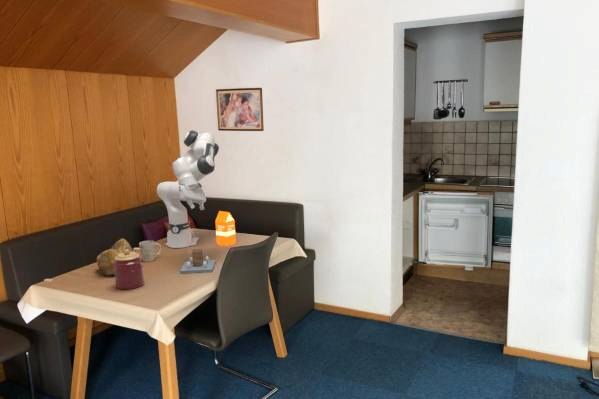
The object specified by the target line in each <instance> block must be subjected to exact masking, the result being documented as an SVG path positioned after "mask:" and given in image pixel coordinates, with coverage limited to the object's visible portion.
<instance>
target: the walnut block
mask: <svg viewBox="0 0 599 399" xmlns="http://www.w3.org/2000/svg"><path fill="white" fill-rule="evenodd" d="M203 255H204V254H203V249H202V248H197V249H196V248H194V249H192V250H191V257H192V259H193V267H198V266H202V265H203V260H204V258H203Z"/></svg>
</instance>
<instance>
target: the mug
mask: <svg viewBox="0 0 599 399" xmlns="http://www.w3.org/2000/svg"><path fill="white" fill-rule="evenodd" d="M138 246H139V250H140V254H141V259H142V262H152V261H154V260H155V256H158V255H159V254H161V252H162V245H161V244H160V243H158V242H155V240H143V241H140V242H139V243H138ZM157 246H158V249H159V250H158V252H157V253H155V250H156V249H155V247H157Z"/></svg>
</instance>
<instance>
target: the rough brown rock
mask: <svg viewBox="0 0 599 399" xmlns="http://www.w3.org/2000/svg"><path fill="white" fill-rule="evenodd" d="M126 249H128V250H129V251H130V252H134V251H133V249H132V246H131V245H130V243H129V241H127V240H126V239H125V238H123V237H122V238H120V239H119V240H118V241H115V242H114V244H113V245H112V246H111V247H110V248H109V249H106V250H104V251H102V252H101V253H99V254H98V255H97V256H96V264H97V267H98V270H100V273H101V274H102V275H103V276H115V272H114V269H115V265H114V264H113V262H114V261H115V257H116V256H117V255H118V254H120V253H124V250H126Z"/></svg>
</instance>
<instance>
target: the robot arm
mask: <svg viewBox="0 0 599 399" xmlns="http://www.w3.org/2000/svg"><path fill="white" fill-rule="evenodd" d="M183 143H184V145H185V146H186V147H188V148H190V149H188V150H187V151H186V152H185V154H184V155H183V156H181V157H178V158H176V159H175V160H174V161H173V162H172V164H171V165H172V170H173V173H174V176H175V177H176V178H177V180H175V181H164V182H160V183H158V184H157V188H156V195H157V196H158V198H160V199H161V200H162V202H163V203H164V205H165V207H166V210H167V215H168V231H167V233H166V234H167V235H166V237H167V238H166V240H167V242H166V243H165V244H164V245H165V246H167V247H169V248H172V249H182V248H187V247H191V246H196V244H197V243H198V240H199V237H196V236H195V231H194V230H193V229H192V228H191V227H190V224H191V220H188V219H189V217H188V210H187V208H186V207H185V205H183V204H182V203H181V201H182V202H186V203H187V205H188V206H189V207H190V209H192V210H193V209H195V208H196V205H195V204H198V205H199V207H198V208H199V209H200V211H204V210H205V207H204V203H206V202H207V197H206V195H205V192H204V190H203V185H202V184H201V183H200V182H199V181H200V180H203V179H204V178H205V177H207V176H208V175H209V174H211V173H213V172H215V157H216V156H217V155H218V153H219V149H220V146H219V145H218V143H216V142H215V138H214V135H212V134H211V133H210V132H202V133H199V132H198V131H196V130H189V131H188V132H187V133H185V135H184V139H183ZM194 203H195V204H194Z"/></svg>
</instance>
